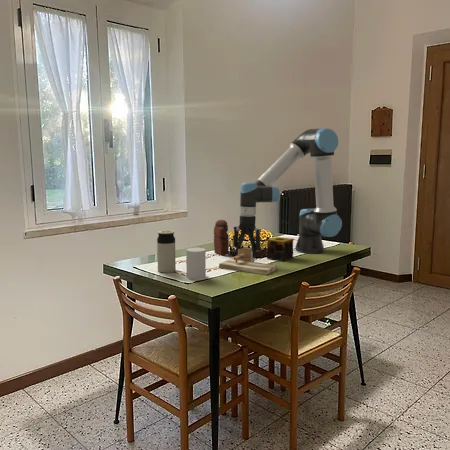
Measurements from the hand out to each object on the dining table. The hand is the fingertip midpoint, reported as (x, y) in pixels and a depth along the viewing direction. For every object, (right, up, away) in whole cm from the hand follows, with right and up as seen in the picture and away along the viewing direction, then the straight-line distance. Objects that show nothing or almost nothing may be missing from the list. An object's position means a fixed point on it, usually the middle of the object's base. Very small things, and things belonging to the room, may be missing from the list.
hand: (245, 262), depth 218 cm
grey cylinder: (-22, -4, -23) cm, 33 cm away
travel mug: (-36, -3, -13) cm, 39 cm away
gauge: (-2, -1, -3) cm, 4 cm away
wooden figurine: (-12, +3, +22) cm, 25 cm away
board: (0, -2, -9) cm, 10 cm away
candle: (+18, +1, +11) cm, 21 cm away
